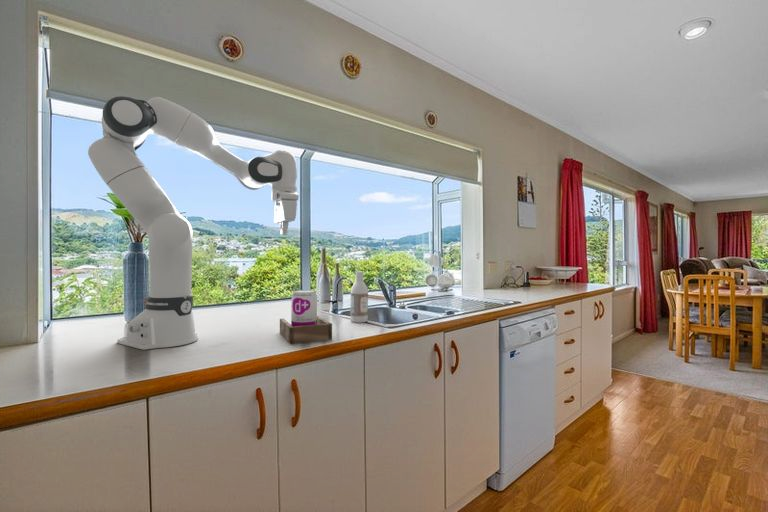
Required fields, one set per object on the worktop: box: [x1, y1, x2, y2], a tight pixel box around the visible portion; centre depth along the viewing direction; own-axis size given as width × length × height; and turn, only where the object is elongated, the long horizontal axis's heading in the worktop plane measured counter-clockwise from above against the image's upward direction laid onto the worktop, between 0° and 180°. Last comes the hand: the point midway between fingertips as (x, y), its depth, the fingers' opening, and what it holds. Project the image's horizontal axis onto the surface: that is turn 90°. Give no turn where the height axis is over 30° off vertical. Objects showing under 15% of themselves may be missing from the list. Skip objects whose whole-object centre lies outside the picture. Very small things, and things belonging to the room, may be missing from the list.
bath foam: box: [349, 270, 369, 324], centre depth 147 cm, size 7×7×20 cm
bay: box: [279, 315, 333, 345], centre depth 121 cm, size 15×13×5 cm
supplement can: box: [290, 289, 318, 327], centre depth 121 cm, size 8×8×15 cm
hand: (283, 234), depth 134 cm, fingers closed
